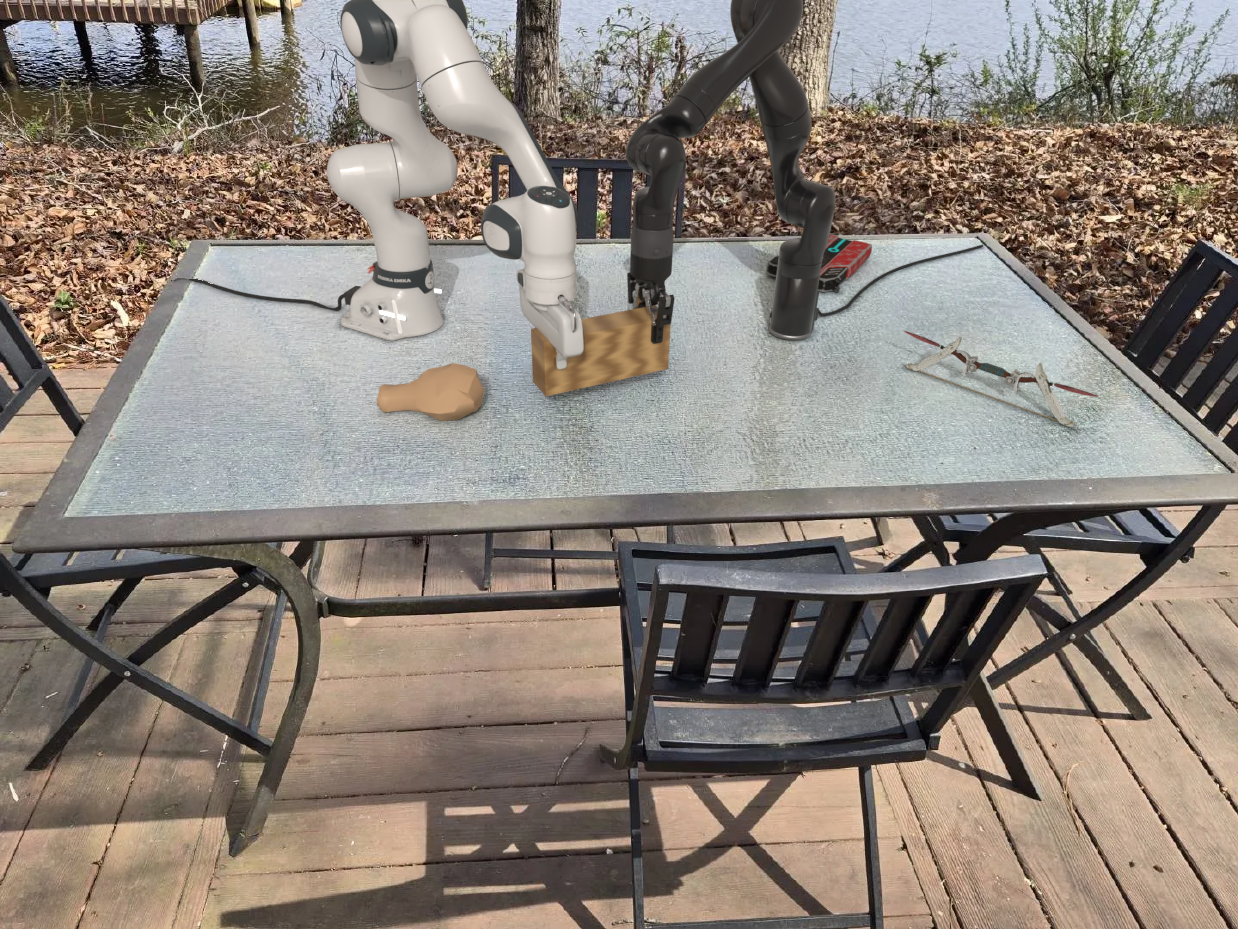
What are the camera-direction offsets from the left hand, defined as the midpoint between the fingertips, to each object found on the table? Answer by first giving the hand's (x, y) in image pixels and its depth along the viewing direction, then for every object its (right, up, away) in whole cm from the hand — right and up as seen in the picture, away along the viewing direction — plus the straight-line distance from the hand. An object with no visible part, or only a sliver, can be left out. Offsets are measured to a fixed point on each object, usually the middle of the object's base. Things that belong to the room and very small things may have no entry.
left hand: (552, 358), depth 158 cm
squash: (-23, -9, +6) cm, 25 cm away
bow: (+85, -6, +17) cm, 87 cm away
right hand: (+18, +5, +7) cm, 20 cm away
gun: (+65, +32, +72) cm, 102 cm away
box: (+9, -2, +7) cm, 11 cm away
